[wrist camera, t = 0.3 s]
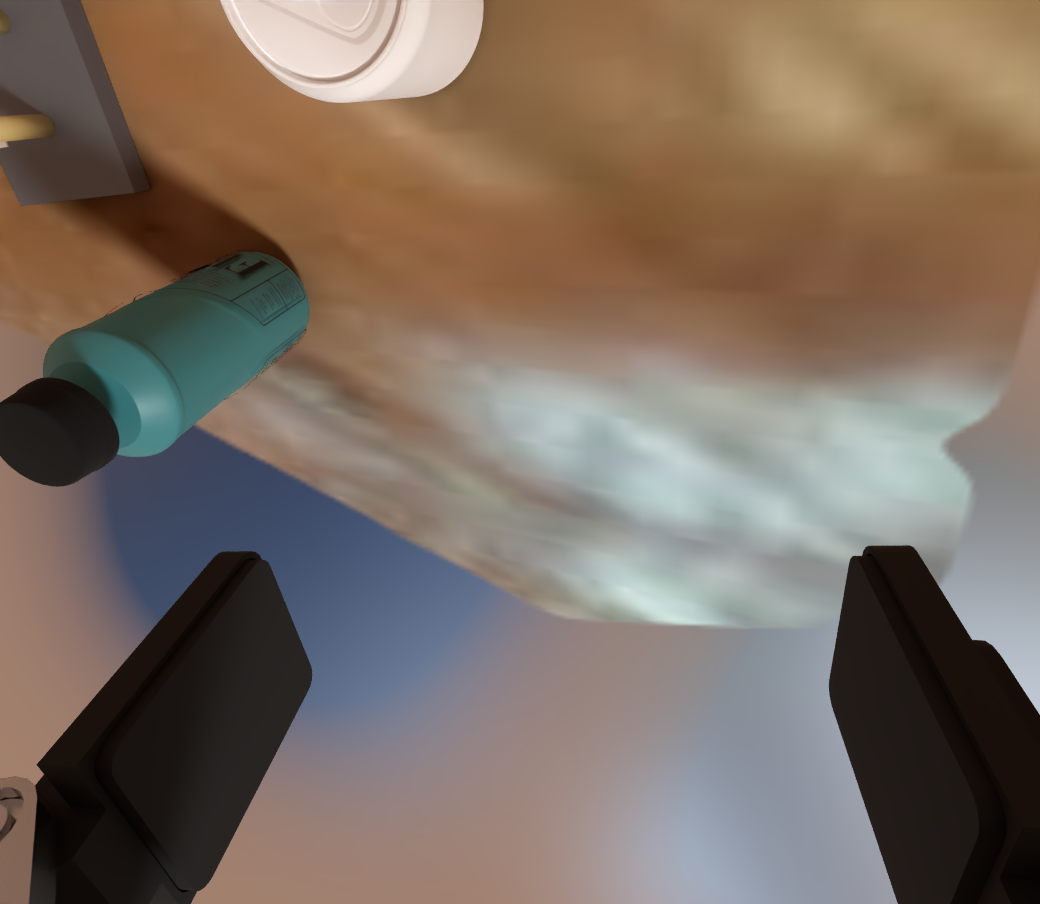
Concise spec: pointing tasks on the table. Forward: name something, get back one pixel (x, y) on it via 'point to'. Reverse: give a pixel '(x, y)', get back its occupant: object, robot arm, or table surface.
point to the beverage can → (359, 44)
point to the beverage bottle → (151, 368)
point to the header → (60, 108)
